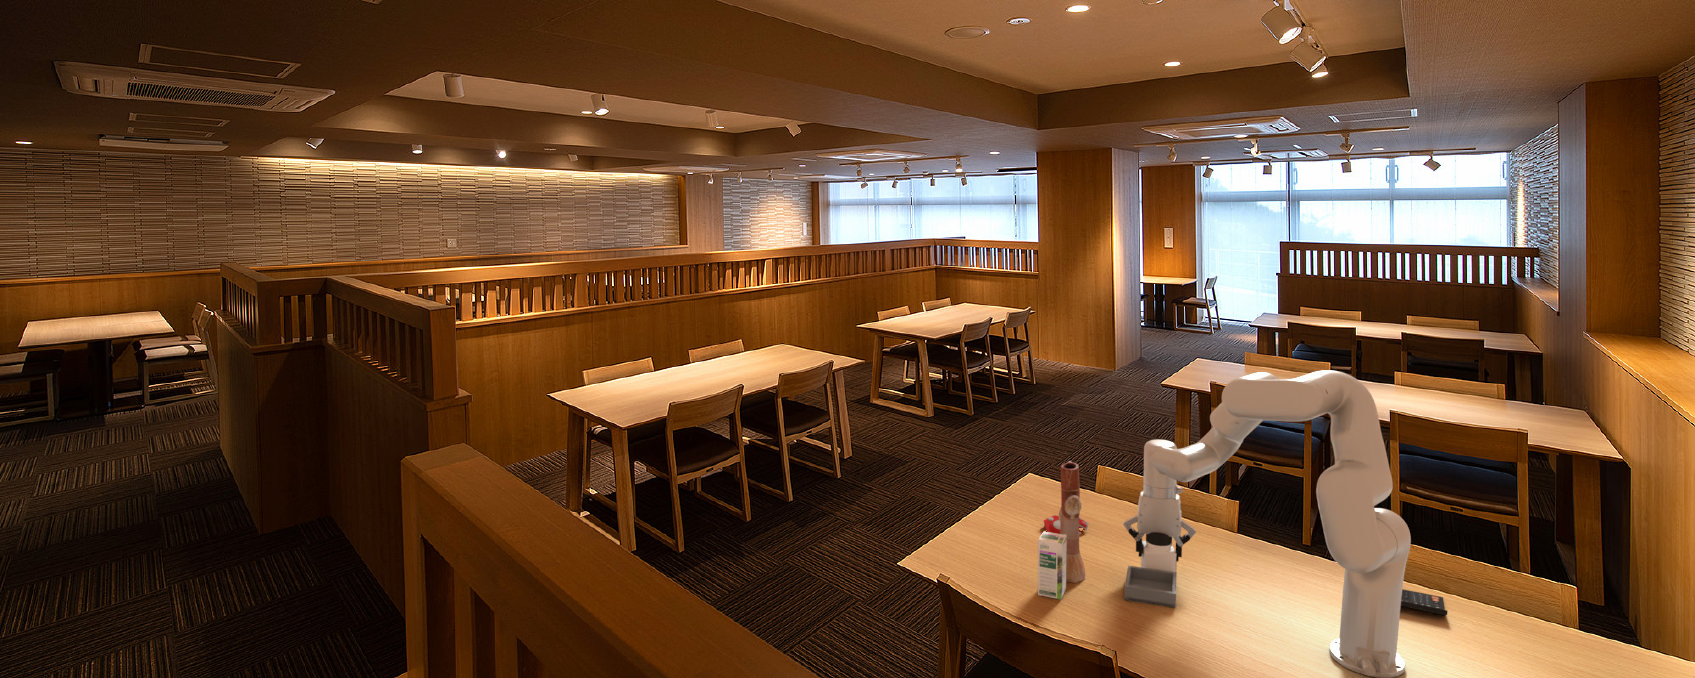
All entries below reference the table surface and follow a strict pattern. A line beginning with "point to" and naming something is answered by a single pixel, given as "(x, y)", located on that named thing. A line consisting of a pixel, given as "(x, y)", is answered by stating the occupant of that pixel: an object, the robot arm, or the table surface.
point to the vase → (1071, 520)
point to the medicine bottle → (1158, 552)
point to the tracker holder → (1054, 524)
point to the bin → (1151, 586)
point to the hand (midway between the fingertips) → (1158, 556)
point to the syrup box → (1052, 565)
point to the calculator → (1423, 602)
